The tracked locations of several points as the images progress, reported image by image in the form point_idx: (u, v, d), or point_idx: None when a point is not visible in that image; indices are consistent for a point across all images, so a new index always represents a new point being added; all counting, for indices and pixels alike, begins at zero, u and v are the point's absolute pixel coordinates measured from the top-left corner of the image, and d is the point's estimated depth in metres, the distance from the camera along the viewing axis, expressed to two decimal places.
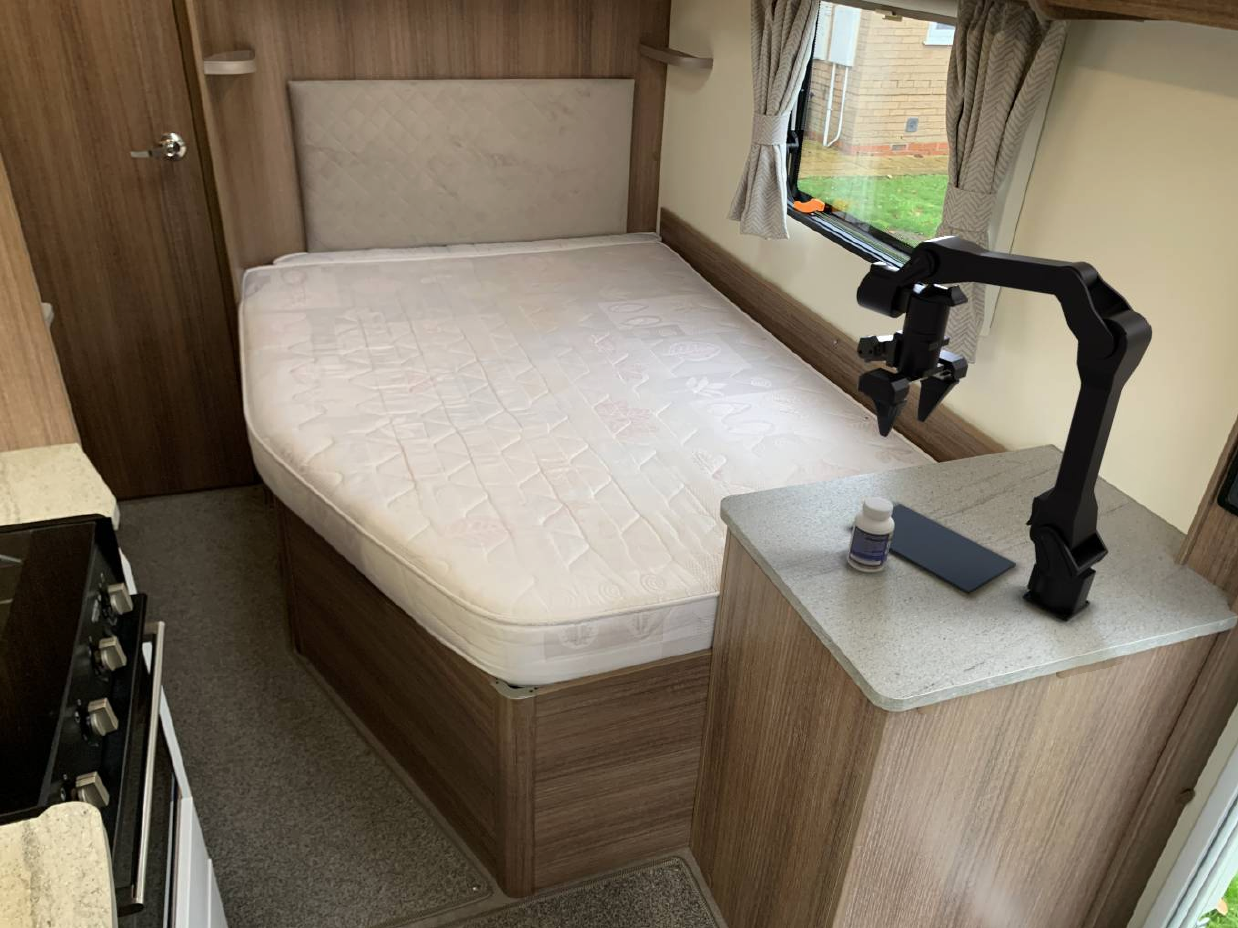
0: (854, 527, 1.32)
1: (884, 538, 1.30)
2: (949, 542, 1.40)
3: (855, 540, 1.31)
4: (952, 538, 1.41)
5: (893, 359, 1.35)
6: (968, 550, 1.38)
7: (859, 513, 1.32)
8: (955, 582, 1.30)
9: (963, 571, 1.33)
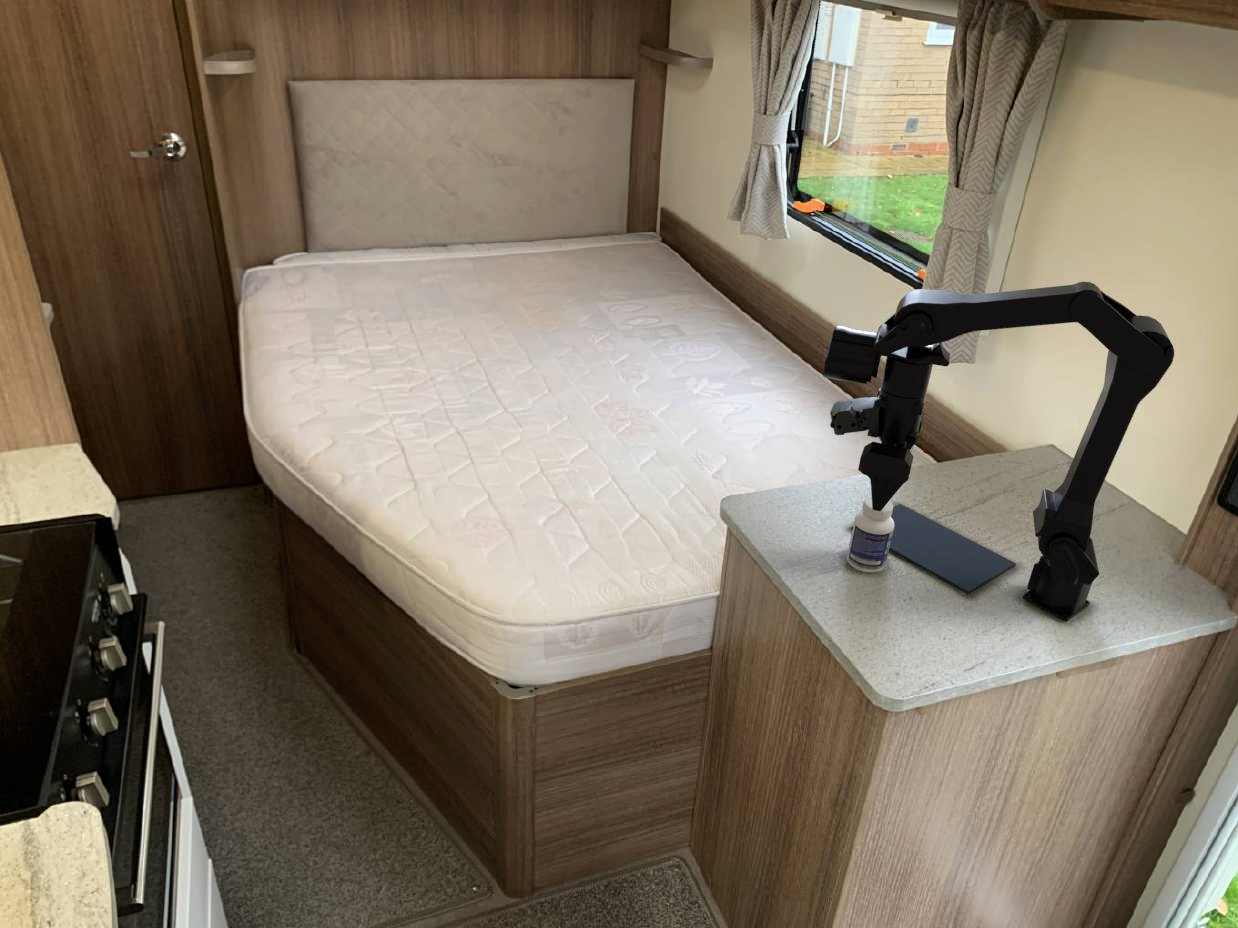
0: (854, 527, 1.32)
1: (884, 538, 1.30)
2: (949, 542, 1.40)
3: (855, 540, 1.31)
4: (952, 538, 1.41)
5: (877, 428, 1.23)
6: (968, 550, 1.38)
7: (859, 513, 1.32)
8: (955, 582, 1.30)
9: (963, 571, 1.33)
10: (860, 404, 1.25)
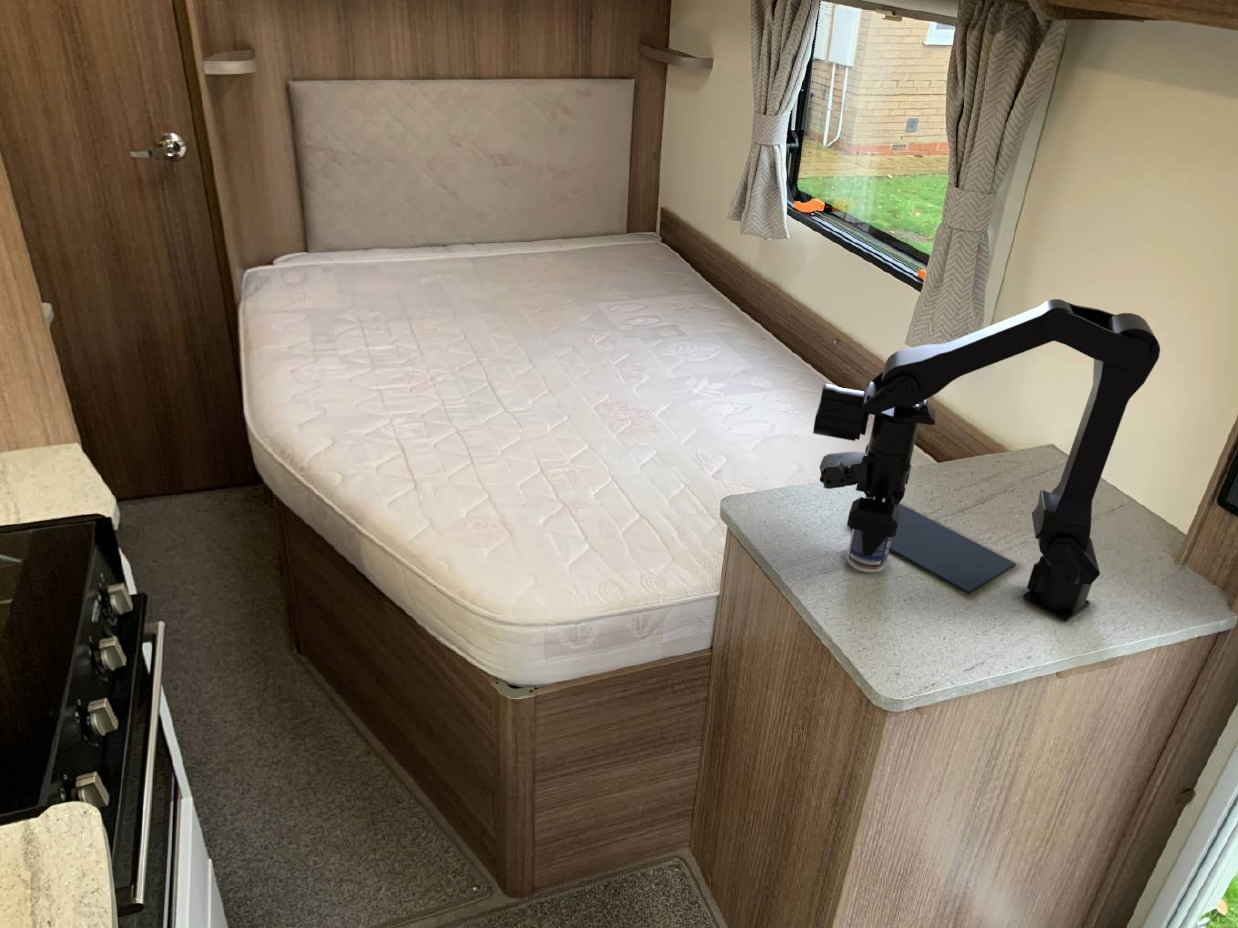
0: None
1: None
2: (949, 542, 1.40)
3: (855, 540, 1.31)
4: (952, 538, 1.41)
5: (866, 483, 1.26)
6: (968, 550, 1.38)
7: None
8: (955, 582, 1.30)
9: (963, 571, 1.33)
10: (849, 459, 1.28)
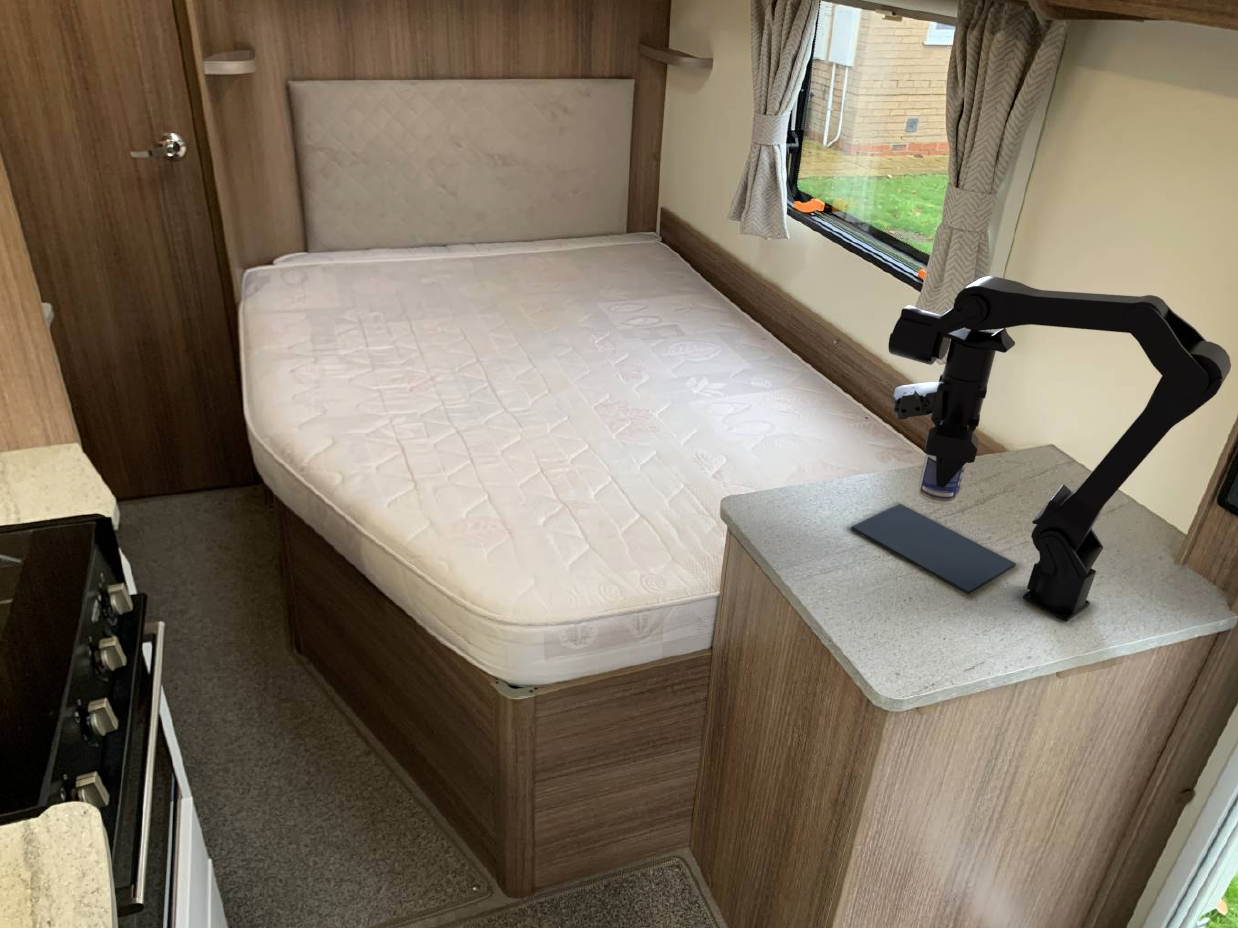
0: (926, 459, 1.31)
1: None
2: (949, 542, 1.40)
3: (927, 472, 1.31)
4: (952, 538, 1.41)
5: (941, 412, 1.26)
6: (968, 550, 1.38)
7: None
8: (955, 582, 1.30)
9: (963, 571, 1.33)
10: (922, 389, 1.28)
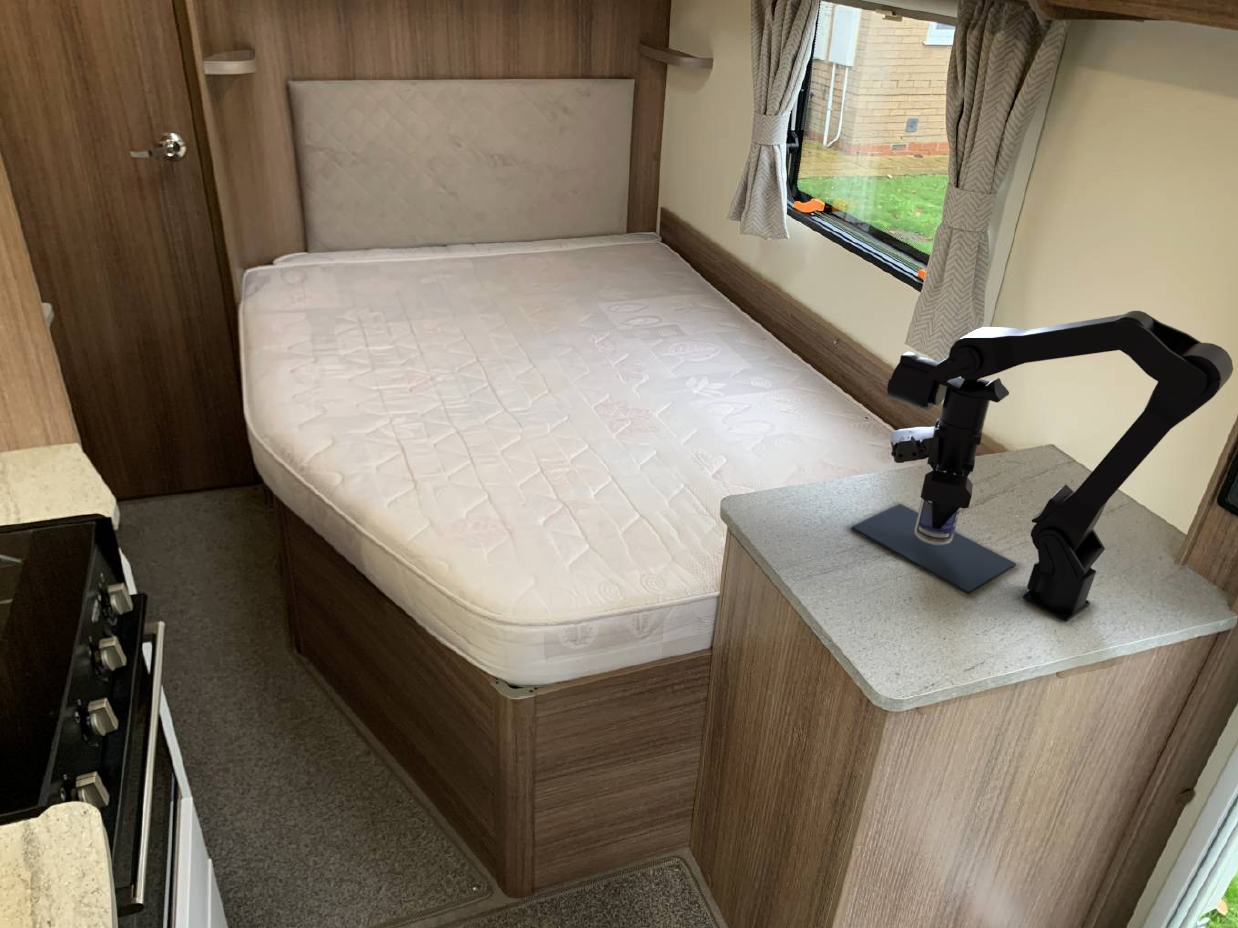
0: (923, 501, 1.35)
1: None
2: None
3: (924, 513, 1.35)
4: (952, 538, 1.41)
5: (937, 457, 1.29)
6: (968, 550, 1.38)
7: None
8: (955, 582, 1.30)
9: (963, 571, 1.33)
10: (919, 433, 1.32)
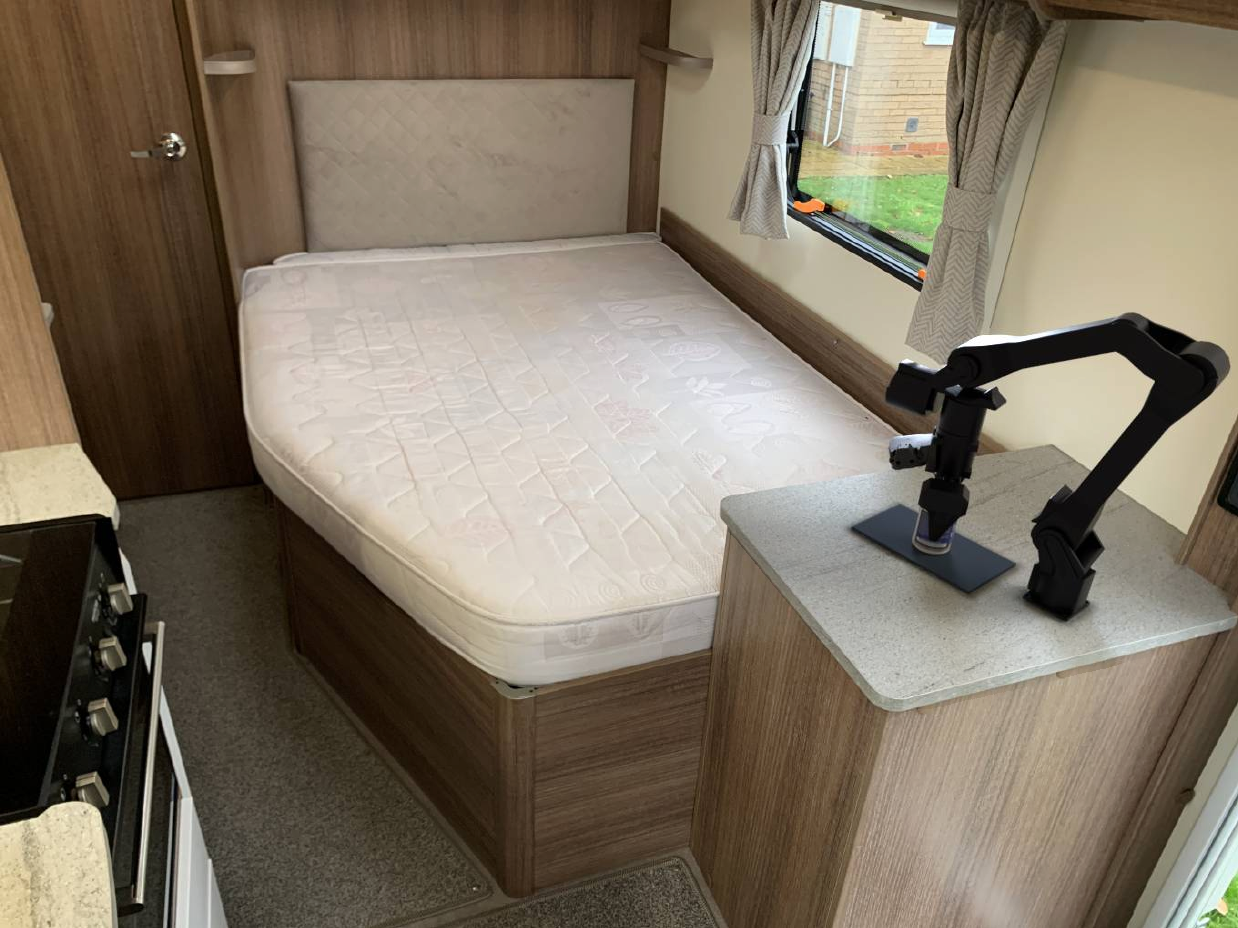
0: (920, 511, 1.36)
1: None
2: None
3: (921, 523, 1.35)
4: None
5: (935, 464, 1.30)
6: (968, 550, 1.38)
7: None
8: (955, 582, 1.30)
9: (963, 571, 1.33)
10: (917, 441, 1.32)
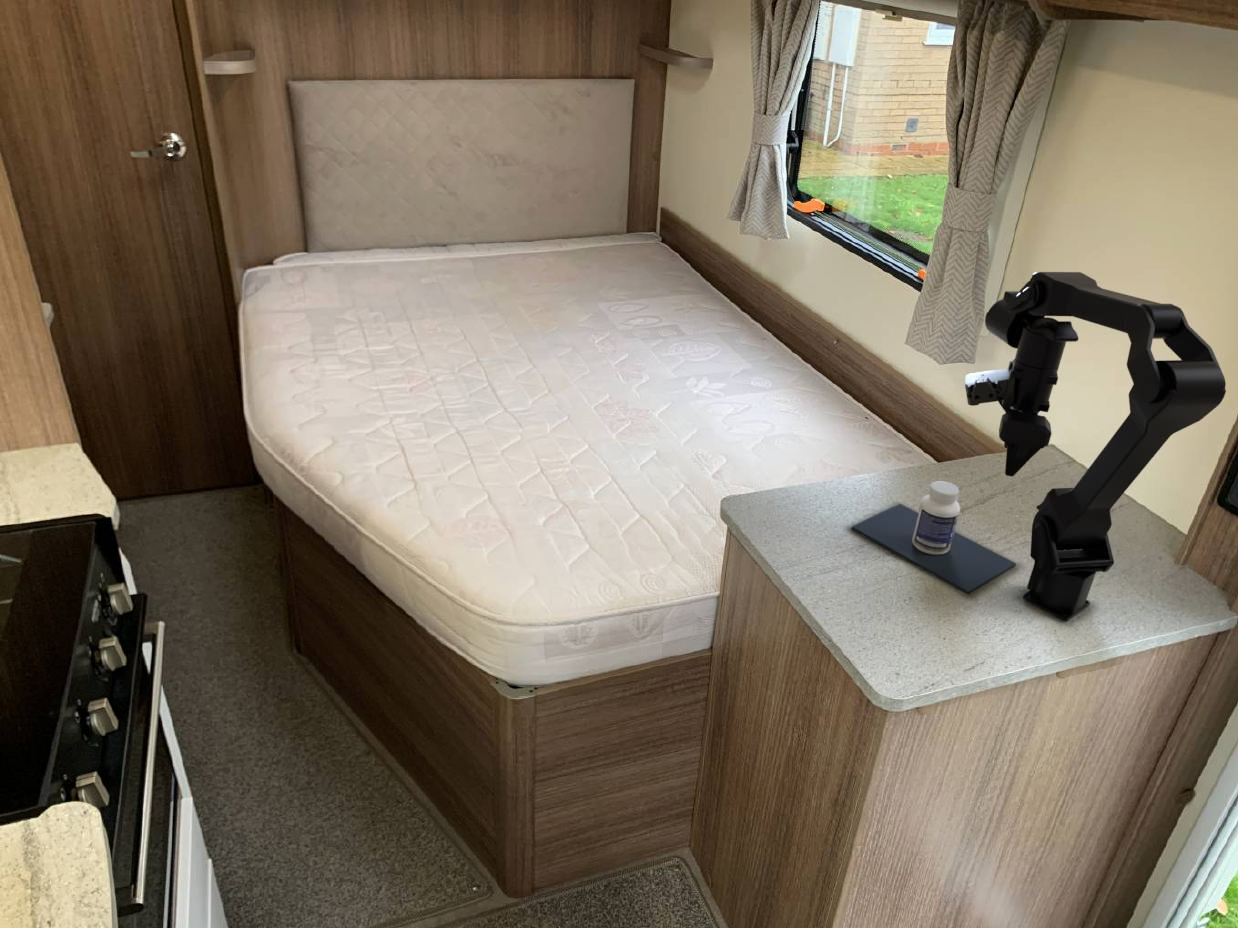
0: (920, 511, 1.36)
1: (951, 521, 1.34)
2: None
3: (921, 523, 1.35)
4: None
5: (1013, 398, 1.31)
6: (968, 550, 1.38)
7: (925, 497, 1.36)
8: (955, 582, 1.30)
9: (963, 571, 1.33)
10: (993, 376, 1.33)
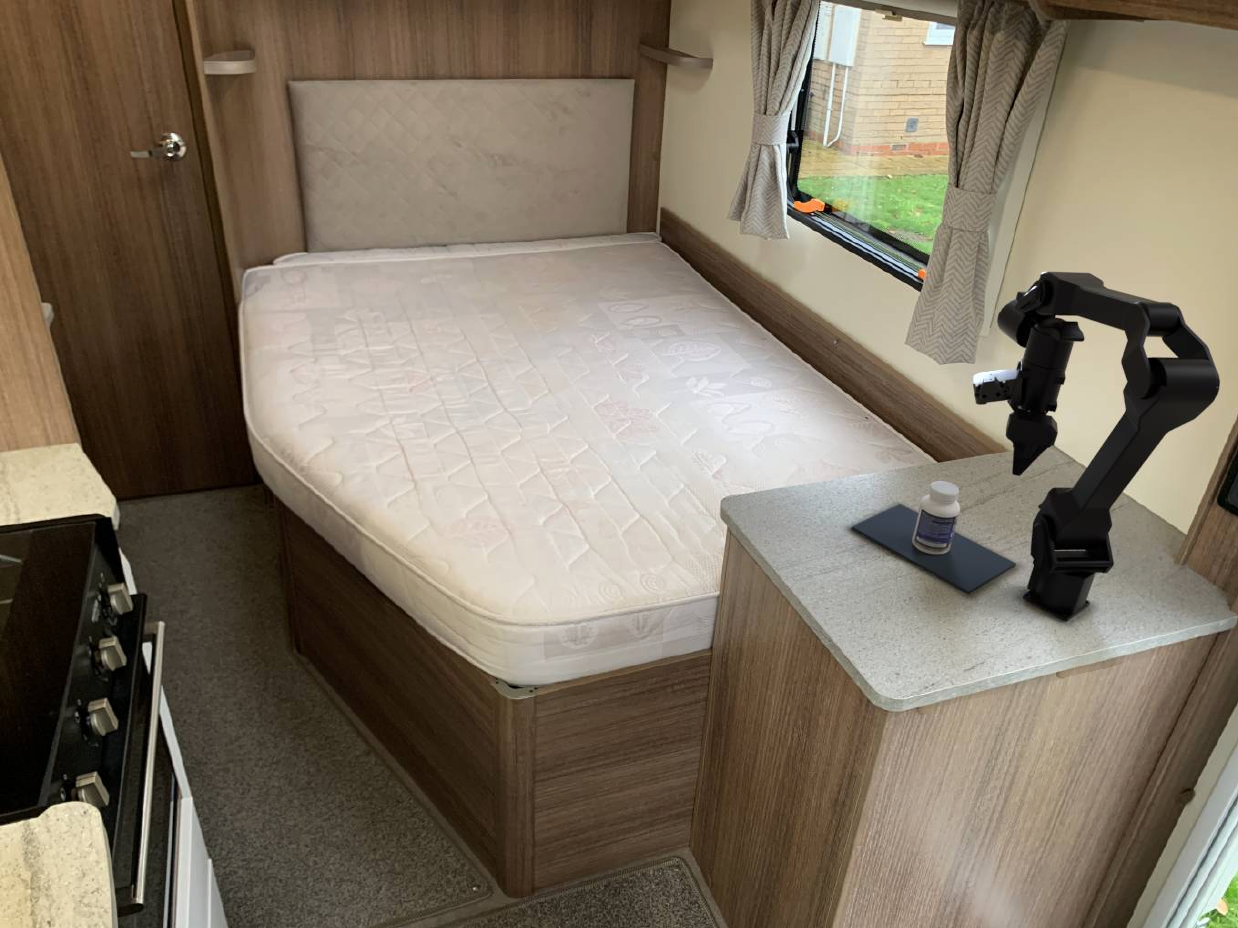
0: (920, 511, 1.36)
1: (951, 521, 1.34)
2: None
3: (921, 523, 1.35)
4: None
5: (1020, 398, 1.32)
6: (968, 550, 1.38)
7: (925, 497, 1.36)
8: (955, 582, 1.30)
9: (963, 571, 1.33)
10: (1001, 375, 1.34)
